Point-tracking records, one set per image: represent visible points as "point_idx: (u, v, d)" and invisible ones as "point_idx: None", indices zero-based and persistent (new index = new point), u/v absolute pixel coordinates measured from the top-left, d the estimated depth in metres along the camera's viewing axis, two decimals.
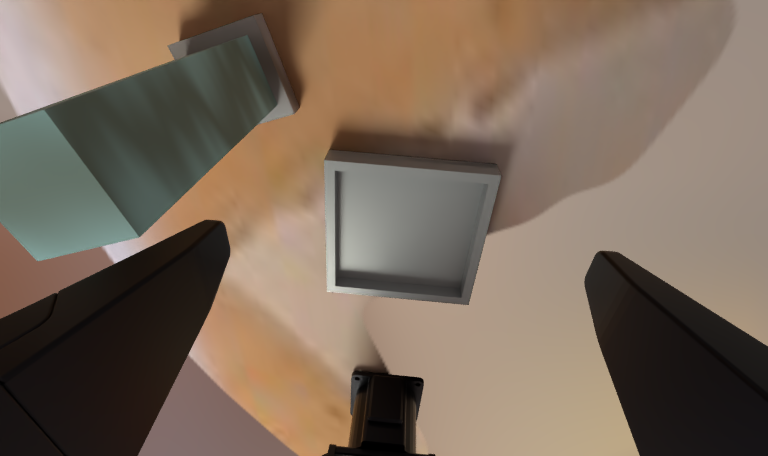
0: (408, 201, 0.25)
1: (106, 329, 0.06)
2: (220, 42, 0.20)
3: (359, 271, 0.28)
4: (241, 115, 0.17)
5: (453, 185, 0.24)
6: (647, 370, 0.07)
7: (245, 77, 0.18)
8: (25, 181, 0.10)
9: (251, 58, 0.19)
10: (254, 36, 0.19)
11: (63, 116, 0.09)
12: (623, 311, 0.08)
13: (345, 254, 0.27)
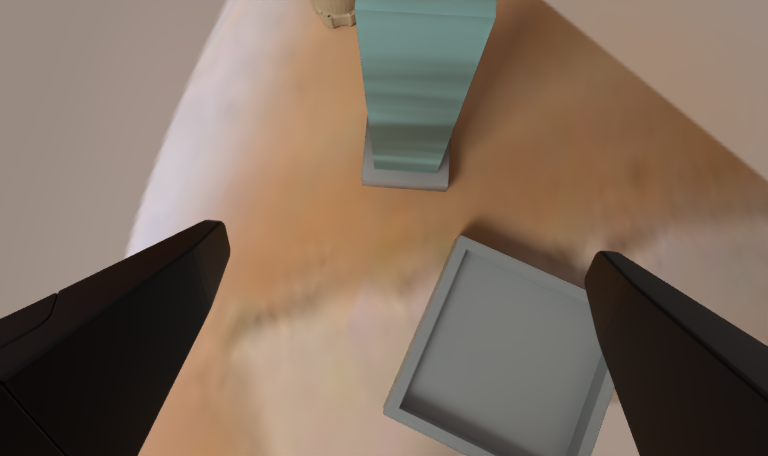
0: (524, 320, 0.22)
1: (106, 329, 0.06)
2: None
3: (430, 403, 0.21)
4: None
5: (578, 317, 0.22)
6: (647, 370, 0.07)
7: None
8: None
9: None
10: None
11: None
12: (623, 311, 0.08)
13: (423, 369, 0.21)
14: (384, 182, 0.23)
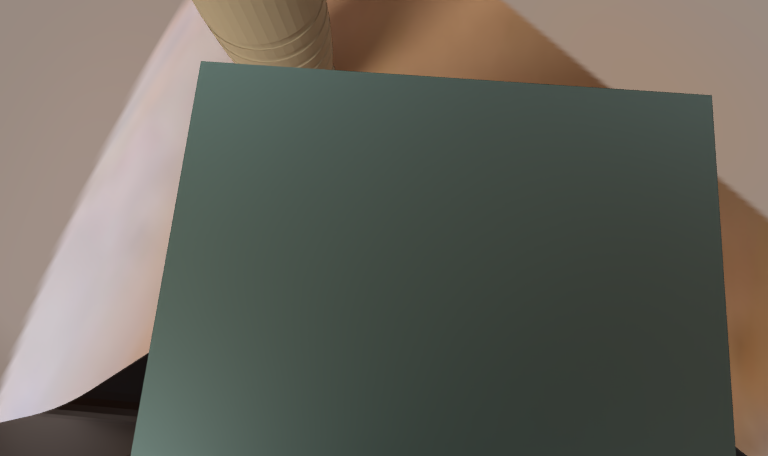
0: None
1: None
2: None
3: None
4: None
5: None
6: None
7: None
8: (428, 272, 0.03)
9: None
10: None
11: None
12: None
13: None
14: None
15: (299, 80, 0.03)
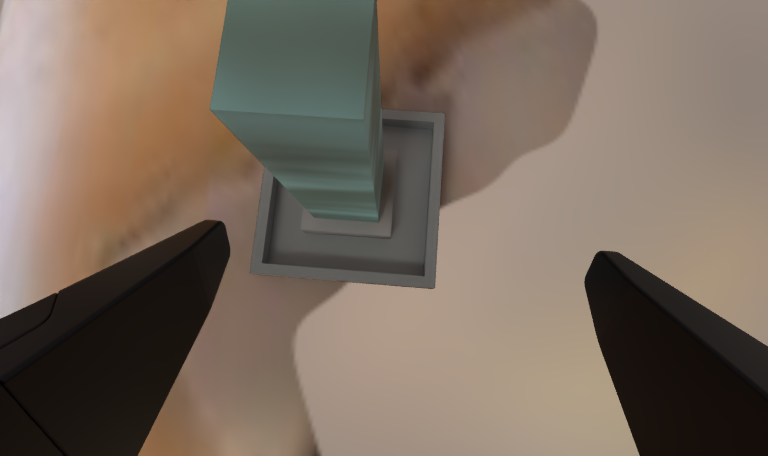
0: None
1: (106, 329, 0.06)
2: None
3: (296, 254, 0.23)
4: (377, 187, 0.17)
5: (402, 139, 0.24)
6: (647, 370, 0.07)
7: (380, 175, 0.20)
8: (293, 28, 0.09)
9: (382, 173, 0.21)
10: (388, 163, 0.22)
11: (375, 3, 0.10)
12: (623, 311, 0.08)
13: (281, 229, 0.23)
14: (324, 231, 0.22)
15: None
